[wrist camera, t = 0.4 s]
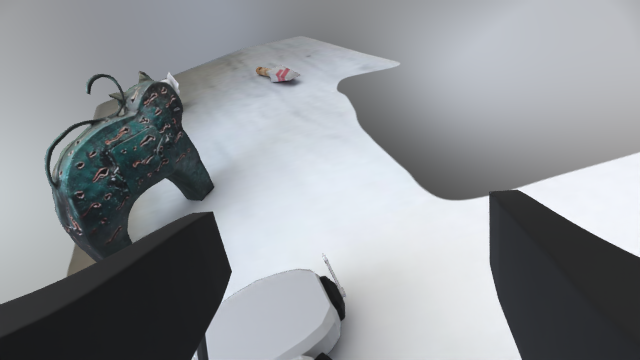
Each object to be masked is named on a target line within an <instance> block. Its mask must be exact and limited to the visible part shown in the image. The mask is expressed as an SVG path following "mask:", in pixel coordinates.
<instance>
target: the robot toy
mask: <svg viewBox="0 0 640 360" xmlns="http://www.w3.org/2000/svg"><path fill="white" fill-rule="evenodd" d="M323 259H324V261H325V263H326V264H327V266H328V268H329V270H330V272H331V274H332V276H333V278H334V280H335V282H336V284H337V286H338V288H339V289H338V288H337V286H336V284H335V283H334V282H332V281H331V280H330V279H329V278H327V277H326V276H322V277H320V276H318V275H317V274H316V273H314V272H313V271H311V270H306V269H296V270H290V271H286V272H281V273H278V274H275V275H272V276H269V277H266V278H263V279H260V280H257V281H255V282H253V283H251V284H250V285H248V286H246V287H245V288H243V289H241V290H240V291H238V292H236V293H235V294H233V295H232V296H230V297H229V298H228V299H226V300H225V301H223V302H222V303H221V304H220V306H219V308H218V310H217V312H216V314H215V316H214V318H213V320H212V321H211V323H210V325H209V327H208V329H207V331H206V333H205V335H204V337H203V338H202V340H201V342H200V344H199V346H198V348H197V350H196V352H195V353H194V354H195V357H194V360H332V359H331V358H329V357H328V356H327V354H328V353H329V352H330V351H331V349H332V348H333V347H334V345H335V344H336V342H337V341H338V339H339V337H340V330H341V321H342V320H343V319H344V318H345V303H344V300H343V298H344V297H346V294H345V292H344V290H343V288H342V287H341V286H340V284H339V282H338V280H337V278H336V276H335V274H334V272H333V270H332V268H331V266H330V264H329V262H328V259H327V257H326V255H324V254H323Z"/></svg>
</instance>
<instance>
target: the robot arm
mask: <svg viewBox="0 0 640 360" xmlns="http://www.w3.org/2000/svg"><path fill="white" fill-rule="evenodd" d="M489 211H490V266H491V271H492V275H493V279H494V283H495V287H496V291H497V295H498V299H499V302H500V304H501V307H502V310H503V312H504V315H505V317H506V320H507V323H508V325H509V328H510V330H511V333H512V335H513V338H514V340H515V343H516V345H517V348H518V350H519V353H520V355H521V358H522V360H640V257H638V256H635V255H633V254H631V253H629V252H627V251H625V250H623V249H621V248H619V247H617V246H615V245H613V244H611V243H609V242H607V241H605V240H603V239H601V238H599V237H598V236H596V235H594V234H592V233H590V232H588V231H587V230H585V229H583V228H581V227H579V226H578V225H576V224H574V223H572V222H571V221H569V220H567V219H566V218H564V217H562V216H561V215H559V214H557V213H556V212H554V211H552V210H551V209H549V208H548V207H546V206H544V205H543V204H541V203H539V202H538V201H536V200H535V199H533V198H531V197H530V196H528V195H526V194H525V193H523V192H521V191H519V190H507V191H493V192H489ZM231 273H232V271H231V267H230V264H229V261H228V258H227V255H226V252H225V249H224V245H223V242H222V239H221V236H220V233H219V230H218V227H217V223H216V220H215V217H214V214H213V212H200V213H192V214H189V215H186V216H184V217H182V218H180V219H178V220H175V221H174V222H172V223H170V224H168V225H166V226H164V227H162V228H160V229H158V230H156V231H155V232H153V233H151V234H149V235H147V236H145V237H144V238H142V239H140V240H138V241H136V242H135V243H133V244H131V245H129V246H127V247H126V248H124V249H122V250H120V251H118V252H116V253H114V254H112V255H110V256H108V257H106V258H105V259H103V260H101V261H99V262H97V263H95V264H93V265H91V266H89V267H87V268H85V269H83V270H81V271H79V272H77V273H75V274H73V275H71V276H68V277H66V278H64V279H62V280H60V281H57V282H55V283H53V284H51V285H48V286H46V287H44V288H42V289H39V290H37V291H34V292H32V293H30V294H27V295H24V296H22V297H19V298H16V299H14V300H11V301H8V302H6V303H3V304H0V360H191V359H192V357H193V355H194V353H195V352H196V350H197V348H198V346H199V344H200V342H201V340H202V338H203V337H204V335H205V333H206V331H207V329H208V327H209V325H210V323H211V321H212V320H213V318H214V316H215V314H216V312H217V310H218V308H219V306H220V304H221V301H222V299H223V296H224V293H225V291H226V288H227V285H228V282H229V279H230V276H231Z"/></svg>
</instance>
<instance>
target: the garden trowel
mask: <svg viewBox="0 0 640 360" xmlns="http://www.w3.org/2000/svg"><path fill="white" fill-rule="evenodd" d="M256 72H257V74H260V75H265V76H270V78H271V82H278V81H287V80H291V79H293V78H295V77H297V76H299V75H300V74H298V73H296V72H294V71H292V70H290V69H288V68H286V67H284V66H282V65H279V66H277V67H275V68H273V69H268V68H262V67H258V68H257V69H256Z"/></svg>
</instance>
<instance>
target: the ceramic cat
mask: <svg viewBox="0 0 640 360" xmlns="http://www.w3.org/2000/svg"><path fill="white" fill-rule="evenodd" d="M100 77H107V78H109V79H111V80H112V81H113V82H114V83H115V84H116V85H117V86H118V88H119V90H120V93H113V94H109V96H110V97H112V98H115V99H117V100H118V105H119V109H118V111H117V112H115V113H114V114H112V115H110V116H108V117H104V118H100V119H96V120H89V121H84V122H80V123H77V124H74V125H72V126H70V127H69V128H68V129H67V130H65V131H64V132H63V133H61V134H60V135H59V136H58V137H57V138H56V139H55V140H54V141H53V143H52V144H51V145H50V147H49V148H48V149H47V152H46V156H45V170H46V175H47V178H48V181H49V184H50V186H51V187H52V194H53V199H54V203H55V210H56V213H57V215H58V218H59V220H60V222H61V224H62V226H63V227H64V229H65V230H66V232H67V233H68V234H69V235H70V236H71V238H72V240H73V241H74V242H75V243H76V244H77V245H78V246H79V247H80V248H81V249H82V250H84V251H85V252H86V253H87V254H88V255H89V256H90V257H92V258H93V259H94V260H95V261H96V262H99V261H101V260H103V259H105V258H106V257H108V256H110V255H112V254H114V253H116V252H118V251H120V250H122V249H124V248H126V247H127V246H129V245H131V244H132V241H131V239H130V237H129V235H128V231H127V228H128V217H129V213H130V210H131V208H132V206H133V204H134V202H135V201H136V200H137V199H138V197H139V196H140V195H141V194H142V193H144V192H145V191H146V190H147V189H148V188H150V187H151V186H153V185H155V184H156V183H158V182H160V181H161V180H163V179H164V178H167V179H168V180H170V181H171V182H173V183H174V184H175V185H176V186H177V187H178V188H179V189H180V190H181V192H182V193H183V194H184V196H185V197H186V198H187V199H190V200H201V201H202V199H203V198H204V197H205V196H206V194H207V193H208V192H209V191H211V190H212V189H213V188H214V185H213V183H212V181H211V179H210V176H209V174H208V172H207V170H206V168H205V167H204V165H203V163H202V161H201V159H200V156H199V153H198V151H197V149H196V148H195V146H194V144H193V143H192V142H191V140H190V139H189V137H188V135H187V134H186V132H185V131H184V130H183V128H182V123H181V121H182V112H183V107H182V103H181V100H180V98H179V96H178V94H177V93H176V92H175V90H174V89H173V87H172V86H171V85H170V84H168V83H166V82H161V81H154V80H152V79H151V78H150V77H149V76H148V75H146V74H145V73H144V72H141V71H139V83H138V84H137V85H134V86H133V87H131V88H129V89H128V90H127V91H126V92H123V91H122V89H121V87H120V85H119V84H118V83H117V81H116V80H115V79H114V78H113V77H111V76H109V75H104V74H98V75H94V76H93V77H91V78H90V79H89V80H88V82H87V84H86V92H87V93H88V94H90V90H91V86H92V84H93V82H94V81H95V80H96V79H98V78H100ZM86 124H91V125H90V126H89V127H87V128H86V129H85V130H84V131H83V132H82V133H81V134H80V135H79V136H78V137H77V138H76V139H75V140H74V141H72V142H71V143H70V144H69V145H67V146H66V147H65V148H64V150H63V151H62V152H61V154H60V157H59V160H58V161H57V163H56V165H55V167H54V170H53V174H52V177H51V173H50V160H51V155H52V152H53V150H54V148H55V146H56V145H57V144H58V143H59V142H60V141H61V140H62V139H63V138H64V137H65V136H66V135H67V134H68V133H69V132H71V131H72V130H73V129H75V128H77V127H79V126H82V125H86Z"/></svg>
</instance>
